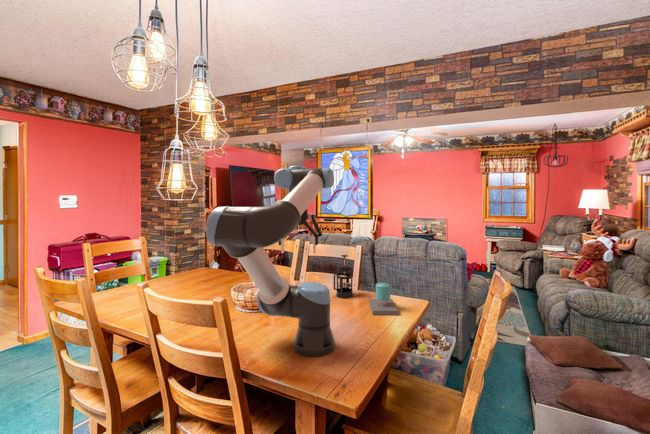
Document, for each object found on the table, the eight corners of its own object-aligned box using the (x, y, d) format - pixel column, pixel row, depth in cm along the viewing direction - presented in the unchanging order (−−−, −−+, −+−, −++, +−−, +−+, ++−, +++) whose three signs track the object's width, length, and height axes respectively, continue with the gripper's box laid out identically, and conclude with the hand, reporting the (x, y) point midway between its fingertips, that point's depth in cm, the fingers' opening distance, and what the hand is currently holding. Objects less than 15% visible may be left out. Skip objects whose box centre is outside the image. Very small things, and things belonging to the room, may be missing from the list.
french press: (356, 294, 184) (356, 254, 183) (350, 299, 176) (350, 257, 174) (337, 292, 189) (337, 252, 188) (330, 296, 181) (330, 255, 180)
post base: (398, 315, 153) (398, 292, 152) (372, 315, 153) (372, 291, 152) (392, 302, 171) (392, 281, 170) (368, 302, 171) (369, 281, 170)
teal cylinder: (391, 300, 158) (391, 286, 157) (376, 300, 158) (376, 286, 158) (388, 296, 165) (389, 282, 164) (374, 296, 165) (375, 282, 165)
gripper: (327, 202, 141) (328, 251, 143) (270, 202, 142) (271, 251, 144) (327, 203, 134) (327, 254, 135) (266, 203, 135) (267, 254, 136)
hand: (298, 252), depth 139 cm, fingers open, 13 cm apart
